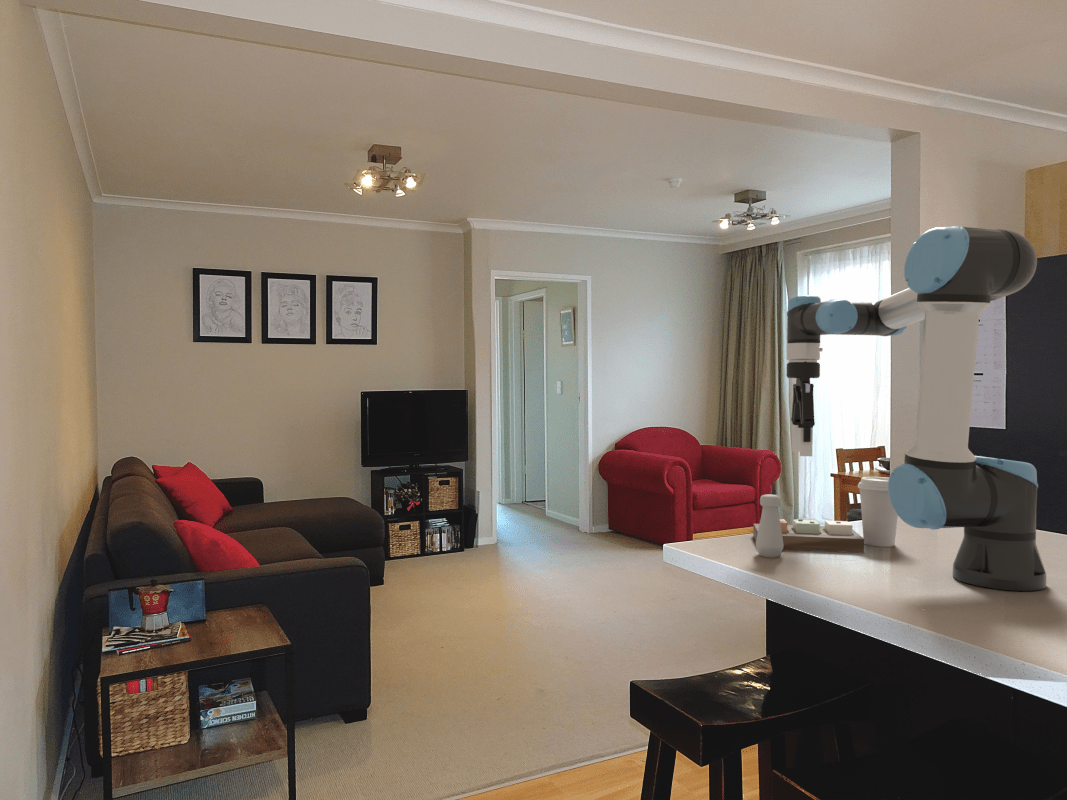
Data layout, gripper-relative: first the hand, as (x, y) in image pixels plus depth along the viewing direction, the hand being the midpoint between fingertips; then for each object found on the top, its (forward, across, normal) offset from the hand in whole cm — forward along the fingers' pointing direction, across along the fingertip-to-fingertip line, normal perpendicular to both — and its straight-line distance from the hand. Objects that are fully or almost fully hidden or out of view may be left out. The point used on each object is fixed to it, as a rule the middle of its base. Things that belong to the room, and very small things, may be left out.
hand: (801, 453), depth 187 cm
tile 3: (+17, -8, +7) cm, 20 cm away
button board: (+20, -8, 0) cm, 22 cm away
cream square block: (+17, -8, -7) cm, 20 cm away
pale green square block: (+17, -8, 0) cm, 19 cm away
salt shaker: (+20, -22, +10) cm, 32 cm away
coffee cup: (+20, -5, -16) cm, 26 cm away
